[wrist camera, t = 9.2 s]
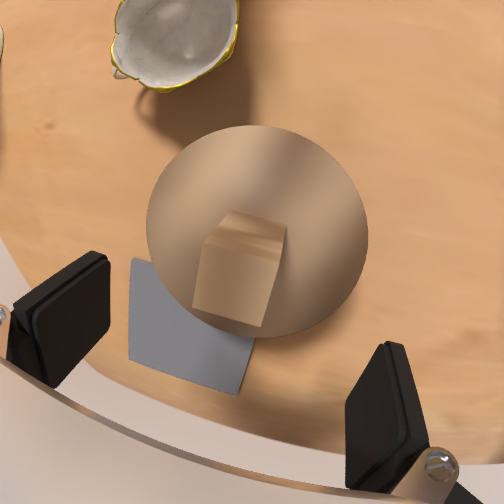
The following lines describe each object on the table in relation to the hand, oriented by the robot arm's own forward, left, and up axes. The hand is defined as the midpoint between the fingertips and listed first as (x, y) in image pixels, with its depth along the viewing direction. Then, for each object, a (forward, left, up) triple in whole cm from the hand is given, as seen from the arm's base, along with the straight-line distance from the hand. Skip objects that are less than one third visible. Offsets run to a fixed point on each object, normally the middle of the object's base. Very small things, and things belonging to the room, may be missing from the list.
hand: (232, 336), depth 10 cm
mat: (+5, +13, -15) cm, 20 cm away
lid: (+1, 0, -9) cm, 9 cm away
